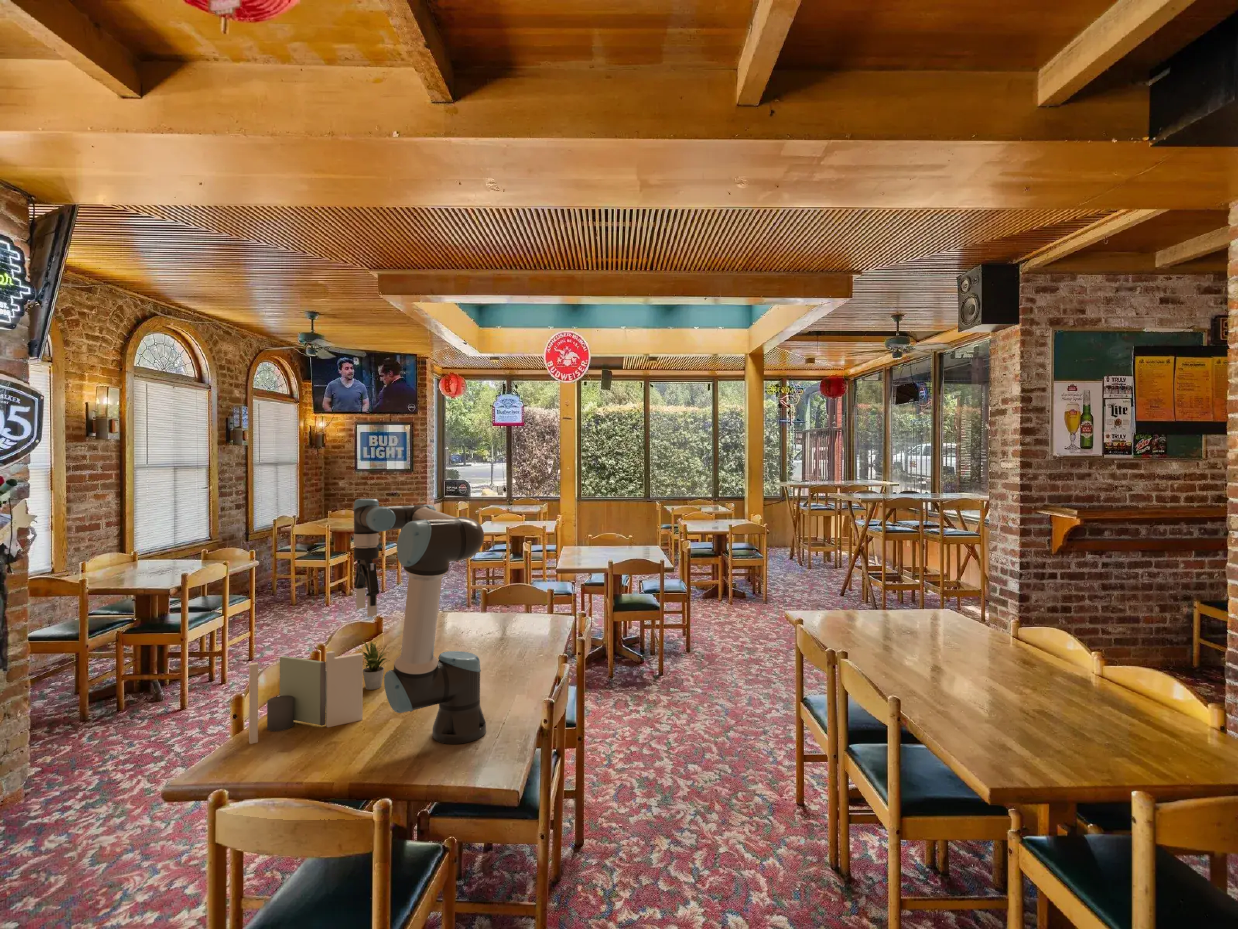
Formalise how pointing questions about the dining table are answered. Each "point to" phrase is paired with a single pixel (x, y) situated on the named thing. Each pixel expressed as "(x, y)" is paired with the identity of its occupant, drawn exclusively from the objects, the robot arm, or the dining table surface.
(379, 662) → the house plant
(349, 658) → the door frame
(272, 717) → the dark brown cylinder
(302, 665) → the door
